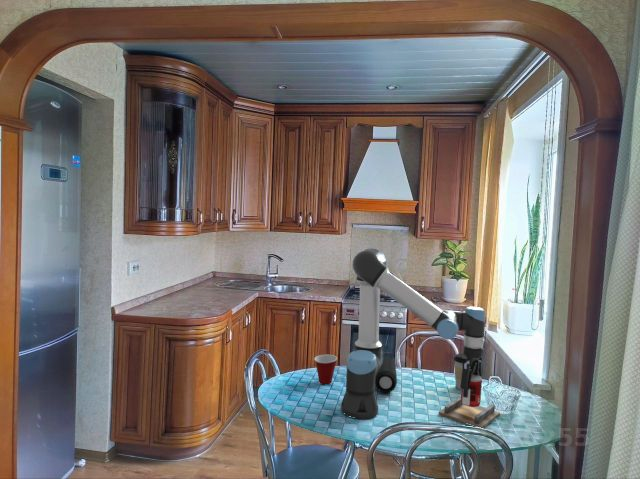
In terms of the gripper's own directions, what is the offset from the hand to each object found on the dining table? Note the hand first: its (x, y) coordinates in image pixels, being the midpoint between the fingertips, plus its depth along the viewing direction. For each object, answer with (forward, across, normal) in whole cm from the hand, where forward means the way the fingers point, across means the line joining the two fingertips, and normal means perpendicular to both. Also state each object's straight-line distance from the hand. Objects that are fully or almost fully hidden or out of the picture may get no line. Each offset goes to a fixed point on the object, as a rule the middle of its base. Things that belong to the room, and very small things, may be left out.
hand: (470, 401), depth 190 cm
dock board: (+6, 0, 0) cm, 6 cm away
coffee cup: (+6, +26, +15) cm, 31 cm away
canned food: (+1, 0, 0) cm, 1 cm away
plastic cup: (+6, -17, +63) cm, 66 cm away
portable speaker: (+6, +3, +43) cm, 43 cm away
